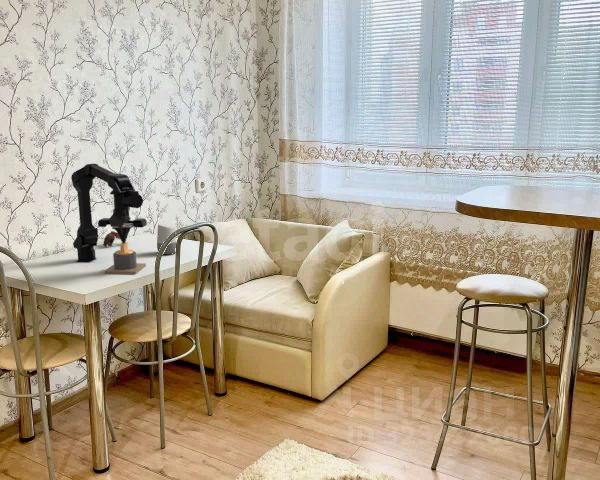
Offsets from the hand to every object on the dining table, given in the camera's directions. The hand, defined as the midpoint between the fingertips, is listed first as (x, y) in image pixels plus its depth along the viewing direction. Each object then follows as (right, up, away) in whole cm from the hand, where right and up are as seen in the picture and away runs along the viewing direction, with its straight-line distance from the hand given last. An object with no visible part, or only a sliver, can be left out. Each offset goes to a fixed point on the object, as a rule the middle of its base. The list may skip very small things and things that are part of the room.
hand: (123, 243), depth 247 cm
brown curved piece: (-19, -2, +46) cm, 50 cm away
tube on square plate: (0, -11, +2) cm, 12 cm away
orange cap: (0, -6, +1) cm, 6 cm away
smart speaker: (+11, -5, +31) cm, 33 cm away
